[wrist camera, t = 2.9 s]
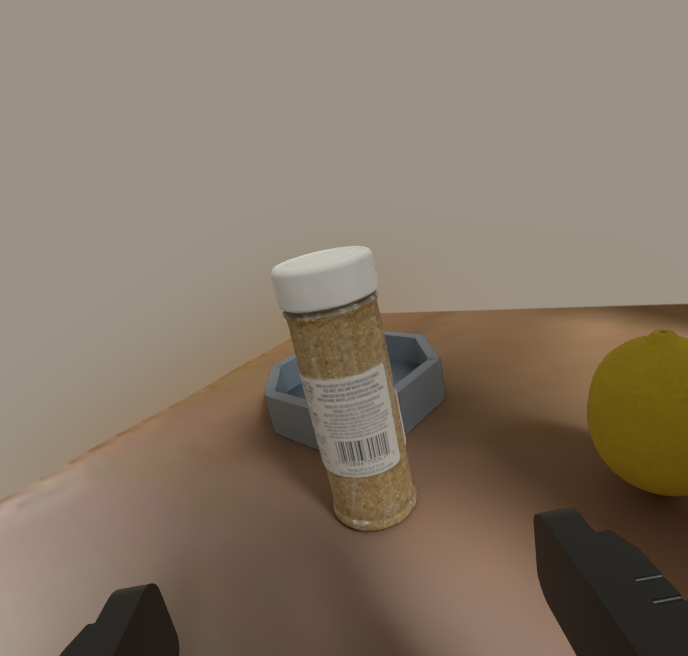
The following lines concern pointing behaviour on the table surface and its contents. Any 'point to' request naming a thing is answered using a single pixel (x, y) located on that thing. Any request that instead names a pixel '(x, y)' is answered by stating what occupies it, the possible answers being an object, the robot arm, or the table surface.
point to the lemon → (643, 412)
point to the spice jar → (348, 383)
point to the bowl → (408, 376)
